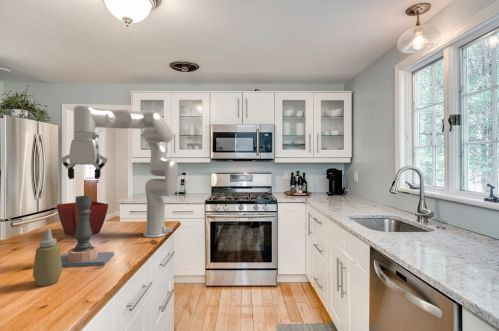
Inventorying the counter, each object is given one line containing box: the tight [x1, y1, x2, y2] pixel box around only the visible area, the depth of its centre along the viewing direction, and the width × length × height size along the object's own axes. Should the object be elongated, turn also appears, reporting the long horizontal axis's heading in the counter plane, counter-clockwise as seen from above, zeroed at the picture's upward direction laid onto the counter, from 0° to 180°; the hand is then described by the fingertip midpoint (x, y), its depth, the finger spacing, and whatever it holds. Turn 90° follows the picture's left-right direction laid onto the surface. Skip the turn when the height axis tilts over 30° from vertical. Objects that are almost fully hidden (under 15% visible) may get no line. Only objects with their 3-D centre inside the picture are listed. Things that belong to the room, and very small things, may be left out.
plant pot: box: [56, 200, 109, 238], centre depth 154 cm, size 19×19×17 cm
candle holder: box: [74, 195, 93, 252], centre depth 113 cm, size 6×6×25 cm
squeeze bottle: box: [32, 228, 63, 287], centre depth 92 cm, size 8×8×18 cm
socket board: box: [61, 244, 115, 268], centre depth 113 cm, size 20×12×5 cm, turn 100°
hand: (84, 178), depth 112 cm, fingers open, 9 cm apart
